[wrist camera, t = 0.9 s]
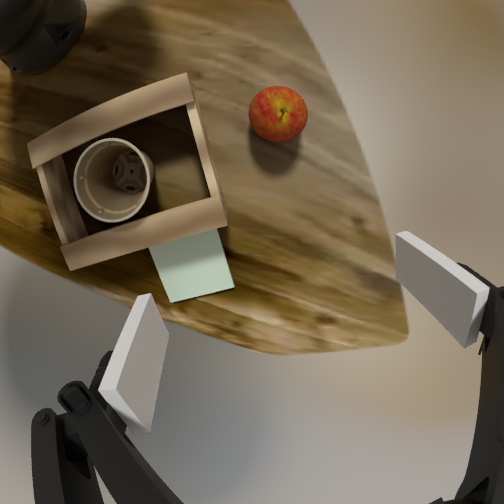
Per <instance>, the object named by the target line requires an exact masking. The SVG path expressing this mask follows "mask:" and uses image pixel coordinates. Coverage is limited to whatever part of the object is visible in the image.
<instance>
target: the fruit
mask: <svg viewBox="0 0 504 504" xmlns="http://www.w3.org/2000/svg"><path fill="white" fill-rule="evenodd" d="M307 117H308V112H307V107H306V104H305V102H304V100H303V99H302V97H301V96H300V95H299V94H298V93H296V92H295V91H293V90H292V89H289V88H286V87H282V86H274V87H269V88H266V89H264V90H262V91H261V92H259V93H258V94H257V95H256V96H255V97H254V99H253V100H252V102H251V104H250V107H249V120H250V123H251V125H252V127H253V129H254V130H255V131H256V133H258V134H259V135H260V136H261V137H263V138H265V139H267V140H270V141H274V142H284V141H288V140H291V139H293V138H295V137H296V136H297V135H299V134H300V133H301V132H302V130H303V129H304V127H305V125H306V122H307Z"/></svg>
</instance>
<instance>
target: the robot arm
mask: <svg viewBox="0 0 504 504" xmlns="http://www.w3.org/2000/svg"><path fill="white" fill-rule="evenodd" d="M85 19H86V5H85V2H84V0H0V60H1V61H2V62H3V63H4V64H6V65H7V66H8V67H9V68H10V69H11V70H12V71H14V72H16V73H20V74H25V75H35V74H39V73H42V72H44V71H46V70H48V69H49V68H51V67H52V66H54V65H55V64H56V63H58V62H59V61H60V60H61V59H62V58H63V57H64V56H65V55H66V54H67V53H68V52H69V50H70V49H71V48H72V47H73V45H74V44H75V42H76V41H77V39H78V37H79V35H80V33H81V31H82V29H83V26H84V23H85ZM396 279H397V280H398V281H399V282H400V283H401V284H402V285H403V286H404V287H405V288H406V289H407V290H408V291H409V292H410V293H411V294H413V296H414V297H416V298H417V300H418V301H419V302H421V304H423V305H424V306H425V307H426V309H428V310H429V312H430V313H431V314H432V315H433V316H434V317H435V318H436V319H437V320H438V321H439V322H440V323H441V324H442V325H443V326H444V327H445V328H446V329H447V330H448V331H449V332H450V334H451V335H453V337H454V338H455V339H456V340H457V341H458V342H459V343H460V344H461V345H462V347H463V348H466V347H468V346H469V345H471V344H473V343H475V342H476V341H477V337H478V334H479V331H480V332H482V333H483V334H484V337H483V341H482V344H481V347H480V350H479V353H478V354H479V355H480V354H481V351H482V371H481V386H480V397H479V406H478V414H477V421H476V428H475V434H474V439H473V445H472V450H471V454H470V458H469V463H468V467H467V471H466V475H465V477H464V480H463V482H462V484H461V486H460V488H459V490H458V491H457V494H456V496H455V499H454V500H449V501H445V502H443V499H442V498H439V499H437V500H435V501H433V502H432V503H429V504H504V286H503V287H499V288H497V287H495V286H494V285H493V284H492V283H490V282H489V281H488V280H486V279H485V278H483V277H482V276H480V275H479V274H478V273H477V272H474V270H472V269H471V268H469V267H468V266H466V265H463V264H460V263H455V262H454V261H452V260H451V259H449V258H448V257H446V256H445V255H443V254H442V253H440V252H439V251H437V250H436V249H434V248H433V247H431V246H430V245H428V244H427V243H425V242H424V241H422V240H421V239H419V238H417V237H416V236H414V235H413V234H411V233H410V232H408V231H405V232H401V233H397V234H396ZM168 339H169V333H168V331H167V329H166V327H165V324H164V322H163V320H162V318H161V316H160V313H159V311H158V309H157V306H156V304H155V302H154V299H153V297H152V295H151V293H149V294H145V295H140V296H138V297H137V299H136V301H135V303H134V305H133V308H132V310H131V312H130V314H129V317H128V319H127V321H126V323H125V326H124V328H123V330H122V332H121V335H120V337H119V339H118V342H117V344H116V346H115V349H114V350H113V351H108V352H107V353H106V354H105V356H104V357H103V358H102V359H101V361H100V364H99V366H98V369H97V371H96V373H95V374H96V375H95V376H94V378H93V380H92V383H91V385H90V388H89V389H88V388H87V387H86V386H85V384H84V383H83V382H82V381H72V382H70V383H68V384H66V385H65V386H64V387H63V388H62V389H61V390H60V392H59V394H58V397H57V398H58V402H59V403H60V404H61V405H62V407H64V409H65V410H66V411H67V413H64V414H61V415H57V414H56V413H55V412H54V411H53V410H52V409H50V408H45V409H42V410H40V411H38V412H37V413H36V414H35V416H34V418H33V419H32V425H31V457H32V477H33V488H34V499H35V504H104V502H103V499H102V495H101V492H100V488H99V485H98V481H97V477H96V473H95V469H94V466H95V468H96V470H97V472H98V474H99V475H100V477H101V479H102V481H103V482H104V484H105V486H106V487H107V489H108V491H109V492H110V494H111V495H112V497H113V498H114V500H115V501H116V503H117V504H184V503H182V502H181V500H180V499H179V498H178V497H177V496H176V495H175V494H174V493H173V492H172V491H171V490H170V489H169V487H168V486H167V485H166V484H165V483H164V482H163V481H162V479H161V478H160V477H159V476H158V475H157V474H156V472H155V471H154V470H153V469H152V468H151V466H150V465H149V464H148V463H147V461H146V460H145V459H144V458H143V456H142V455H141V454H140V452H139V451H138V450H137V449H136V447H135V446H134V444H133V443H132V442H131V440H130V439H129V438H128V437H127V435H126V434H125V431H126V427H128V428H129V429H130V430H131V431H132V433H133V434H147V433H150V431H151V425H152V419H153V414H154V408H155V402H156V397H157V392H158V386H159V381H160V376H161V371H162V367H163V361H164V357H165V352H166V348H167V343H168Z"/></svg>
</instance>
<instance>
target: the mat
mask: <svg viewBox="0 0 504 504" xmlns="http://www.w3.org/2000/svg"><path fill="white" fill-rule="evenodd" d="M149 250H150V253H151V255H152V258H153V260H154V263H155V266H156V268H157V271H158V273H159V276H160V278H161V281H162V283H163V285H164V288H165V290H166V293H167V295H168V297H169V300H170V302H171V303H172V302H176V301H180V300H184V299H189V298H193V297H197V296H201V295H205V294H209V293H213V292H217V291H221V290H225V289H229V288H233V287H234V283H233V279H232V276H231V273H230V270H229V266H228V263H227V260H226V257H225V253H224V250H223V247H222V243H221V240H220V237H219V233H218V230H217V229H213V230H209V231H205V232H202V233H198V234H195V235H191V236H187V237H184V238H180V239H177V240H173V241H169V242H166V243H162V244H159V245H155V246H152V247H149Z"/></svg>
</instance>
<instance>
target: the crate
mask: <svg viewBox="0 0 504 504" xmlns="http://www.w3.org/2000/svg"><path fill="white" fill-rule="evenodd" d="M183 105H186V107H187V111H188V115H189V118H190V122H191V126H192V130H193V133H194V137H195V141H196V144H197V148H198V152H199V155H200V159H201V163H202V166H203V170H204V173H205V177H206V180H207V184H208V188H209V191H210V195H211V197H210V198H207V199H203V200H199V201H196V202H192V203H189V204H186V205H182V206H179V207H175V208H172V209H169V210H165V211H162V212H159V213H156V214H152V215H149V216H146V217H143V218H140V219H137V220H133V221H130V222H127V223H124V224H121V225H118V226H115V227H112V228H109V229H106V230H104V231H101V232H98V233H95V234H92V235H89V236H88V233H87V231H86V228H85V225H84V223H83V220H82V217H81V214H80V212H79V209H78V206H77V203H76V200H75V197H74V194H73V191H72V188H71V185H70V181H69V178H68V175H67V171H66V168H65V164H64V161H63V157H62V154H63V153H65V152H67V151H69V150H71V149H73V148H75V147H77V146H79V145H82V144H84V143H86V142H88V141H90V140H92V139H95V138H97V137H99V136H101V135H104V134H106V133H108V132H111V131H113V130H116V129H118V128H121V127H123V126H126V125H128V124H131V123H133V122H136V121H139V120H141V119H144V118H147V117H150V116H153V115H155V114H158V113H161V112H164V111H167V110H170V109H173V108H177V107H180V106H183ZM27 147H28V151H29V155H30V159H31V163H32V167H33V169H34V168H36V169H37V172H38V176H39V179H40V183H41V186H42V189H43V192H44V195H45V198H46V202H47V205H48V207H49V210H50V213H51V216H52V219H53V222H54V224H55V227H56V230H57V232H58V235H59V237H60V240H61V242H62V246H61V247H60V249H61V251H62V254H63V256H64V258H65V261H66V263H67V265H68V267H69V270H70V271H72V270H75V269H79V268H82V267H85V266H88V265H92V264H95V263H98V262H101V261H105V260H108V259H111V258H115V257H118V256H121V255H125V254H128V253H131V252H135V251H138V250H142V249H145V248H148V247H152V246H155V245H159V244H162V243H166V242H169V241H173V240H177V239H180V238H184V237H187V236H191V235H195V234H198V233H202V232H205V231H209V230H213V229H217V228H220V227H224V226H228V214H227V208H226V204H225V201H224V197H223V193H222V190H221V186H220V182H219V179H218V175H217V171H216V168H215V164H214V160H213V157H212V153H211V149H210V146H209V142H208V138H207V134H206V131H205V127H204V123H203V119H202V116H201V112H200V108H199V104H198V101H197V97H196V93H195V89H194V85H193V83H192V81H191V79H190V78H189V76H188V74H187V73H183V74H180V75H177V76H174V77H171V78H167V79H164V80H161V81H158V82H156V83H153V84H150V85H147V86H144V87H142V88H139V89H136V90H134V91H131V92H129V93H126V94H124V95H121V96H119V97H116V98H114V99H112V100H109V101H107V102H105V103H103V104H100V105H98V106H96V107H94V108H92V109H90V110H87V111H85V112H83V113H81V114H79V115H77V116H75V117H73V118H71V119H69V120H67V121H66V122H64V123H62V124H60V125H58V126H56V127H54V128H53V129H51V130H49V131H47V132H46V133H44V134H42V135H40V136H39V137H37V138H35V139H34V140H32V141H31V142H29V143H27Z"/></svg>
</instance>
